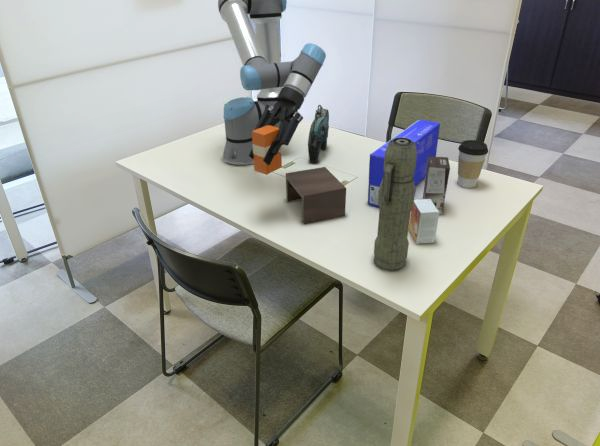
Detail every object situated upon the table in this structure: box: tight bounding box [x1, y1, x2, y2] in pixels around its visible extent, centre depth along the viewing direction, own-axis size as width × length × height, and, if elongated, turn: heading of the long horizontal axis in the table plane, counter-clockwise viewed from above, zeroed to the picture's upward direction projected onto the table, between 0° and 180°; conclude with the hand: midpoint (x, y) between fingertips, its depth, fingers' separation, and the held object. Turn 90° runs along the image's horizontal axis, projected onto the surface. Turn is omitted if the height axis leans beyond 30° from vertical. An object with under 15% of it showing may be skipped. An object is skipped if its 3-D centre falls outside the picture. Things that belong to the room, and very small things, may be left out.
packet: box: [252, 125, 283, 176], centre depth 144 cm, size 5×7×12 cm
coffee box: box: [422, 156, 451, 215], centre depth 154 cm, size 9×6×16 cm
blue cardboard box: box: [367, 119, 441, 209], centre depth 167 cm, size 39×8×18 cm, turn 145°
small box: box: [408, 198, 440, 245], centre depth 140 cm, size 8×6×10 cm
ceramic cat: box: [307, 104, 330, 165], centre depth 191 cm, size 20×6×20 cm, turn 164°
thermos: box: [373, 138, 417, 272], centre depth 123 cm, size 9×12×35 cm
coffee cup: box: [457, 139, 489, 189], centre depth 168 cm, size 10×10×15 cm
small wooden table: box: [285, 166, 347, 225], centre depth 156 cm, size 17×14×10 cm
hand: (259, 160), depth 142 cm, fingers closed on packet, 5 cm apart
